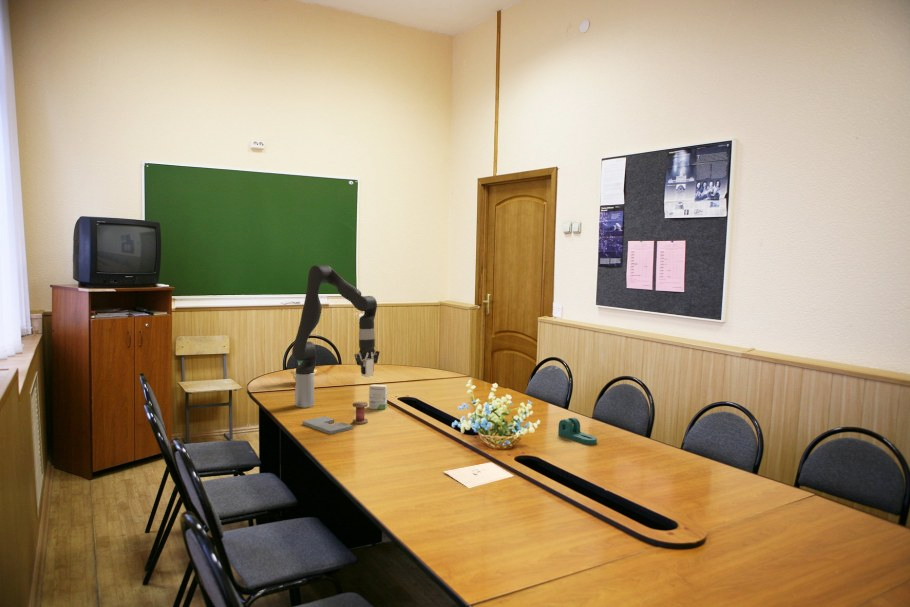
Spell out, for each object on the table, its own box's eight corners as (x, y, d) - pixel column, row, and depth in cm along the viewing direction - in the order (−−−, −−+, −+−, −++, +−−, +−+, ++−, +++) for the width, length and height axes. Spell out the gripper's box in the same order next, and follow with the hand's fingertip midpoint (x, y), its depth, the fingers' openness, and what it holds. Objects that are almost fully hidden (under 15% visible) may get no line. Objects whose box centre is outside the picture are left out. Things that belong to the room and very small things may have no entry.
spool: (349, 422, 282) (349, 403, 281) (361, 419, 287) (361, 400, 286) (358, 425, 277) (358, 406, 276) (370, 422, 282) (370, 403, 281)
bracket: (558, 435, 267) (558, 418, 267) (568, 432, 271) (569, 415, 271) (589, 446, 253) (590, 428, 252) (600, 443, 257) (600, 425, 256)
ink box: (368, 409, 306) (368, 386, 305) (371, 406, 311) (371, 384, 310) (385, 409, 305) (385, 386, 304) (387, 407, 310) (387, 384, 309)
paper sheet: (496, 463, 231) (496, 460, 231) (539, 493, 205) (539, 490, 205) (441, 471, 220) (441, 469, 220) (478, 504, 194) (478, 501, 194)
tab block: (361, 375, 286) (361, 359, 286) (368, 374, 289) (367, 358, 289) (366, 377, 284) (366, 360, 283) (373, 375, 287) (373, 359, 286)
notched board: (302, 424, 277) (302, 421, 277) (324, 419, 286) (324, 416, 286) (331, 434, 262) (331, 431, 262) (352, 428, 271) (352, 425, 271)
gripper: (373, 335, 293) (374, 370, 294) (350, 338, 283) (350, 374, 284) (383, 337, 288) (383, 372, 289) (359, 340, 277) (360, 376, 279)
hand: (367, 373), depth 286 cm, fingers closed on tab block, 4 cm apart
